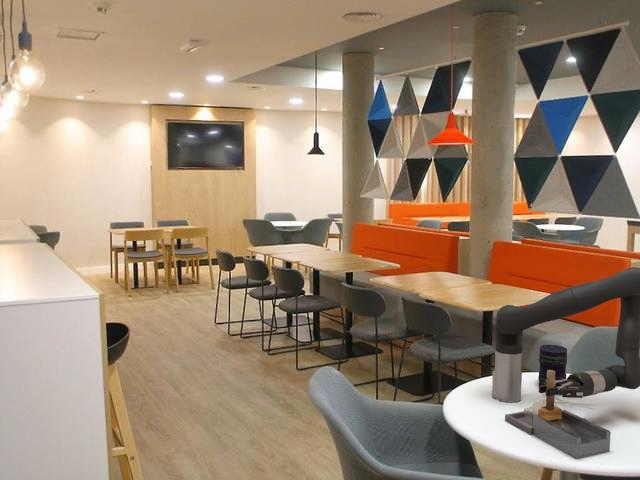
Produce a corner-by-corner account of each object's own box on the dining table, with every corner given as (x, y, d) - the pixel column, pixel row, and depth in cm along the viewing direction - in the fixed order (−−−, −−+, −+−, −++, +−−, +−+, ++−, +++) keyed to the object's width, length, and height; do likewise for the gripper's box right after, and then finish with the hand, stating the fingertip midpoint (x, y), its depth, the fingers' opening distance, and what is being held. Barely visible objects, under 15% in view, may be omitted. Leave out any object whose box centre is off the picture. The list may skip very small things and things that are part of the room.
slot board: (532, 434, 193) (532, 415, 193) (563, 427, 198) (564, 409, 197) (576, 458, 177) (577, 438, 176) (609, 451, 181) (610, 431, 181)
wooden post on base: (538, 418, 195) (539, 371, 193) (554, 414, 197) (555, 368, 196) (544, 421, 192) (546, 374, 190) (561, 418, 195) (562, 371, 193)
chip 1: (532, 424, 199) (523, 420, 203) (542, 422, 201) (533, 418, 205) (532, 412, 199) (523, 408, 203) (542, 410, 200) (533, 406, 204)
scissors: (539, 392, 229) (598, 401, 219) (539, 394, 229) (598, 403, 219) (533, 401, 220) (595, 411, 210) (533, 404, 220) (595, 414, 210)
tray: (505, 420, 204) (505, 414, 204) (539, 414, 209) (539, 408, 209) (530, 434, 193) (530, 428, 193) (565, 427, 198) (565, 421, 198)
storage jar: (571, 390, 231) (573, 351, 230) (547, 392, 229) (549, 352, 228) (556, 381, 241) (557, 343, 239) (532, 383, 239) (534, 345, 237)
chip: (532, 414, 199) (532, 402, 199) (542, 413, 201) (542, 400, 200) (541, 419, 195) (541, 406, 195) (551, 417, 197) (551, 405, 196)
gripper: (570, 366, 205) (527, 372, 199) (603, 378, 192) (559, 386, 186) (569, 388, 206) (527, 395, 199) (602, 402, 193) (558, 411, 187)
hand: (543, 391), depth 193 cm, fingers closed on wooden post on base, 2 cm apart
